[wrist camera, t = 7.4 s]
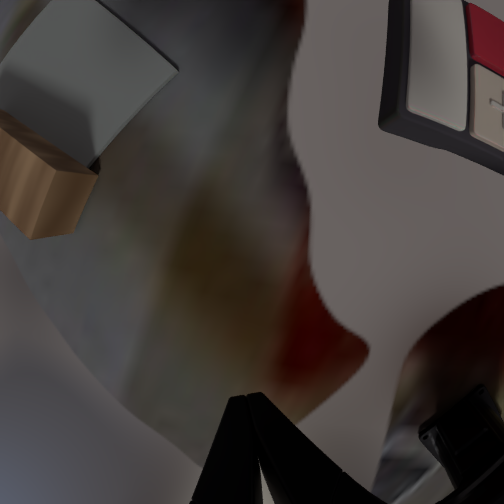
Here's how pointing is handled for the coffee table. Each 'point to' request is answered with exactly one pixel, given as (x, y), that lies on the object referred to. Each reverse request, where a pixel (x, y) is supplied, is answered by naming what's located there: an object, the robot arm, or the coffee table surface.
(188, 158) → the coffee table surface
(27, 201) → the block
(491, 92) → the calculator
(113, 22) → the mat
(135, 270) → the coffee table surface
